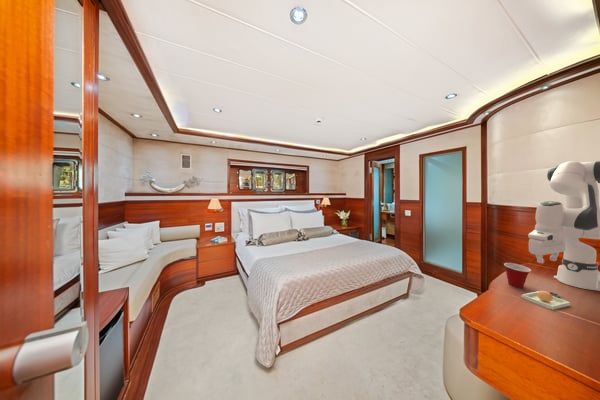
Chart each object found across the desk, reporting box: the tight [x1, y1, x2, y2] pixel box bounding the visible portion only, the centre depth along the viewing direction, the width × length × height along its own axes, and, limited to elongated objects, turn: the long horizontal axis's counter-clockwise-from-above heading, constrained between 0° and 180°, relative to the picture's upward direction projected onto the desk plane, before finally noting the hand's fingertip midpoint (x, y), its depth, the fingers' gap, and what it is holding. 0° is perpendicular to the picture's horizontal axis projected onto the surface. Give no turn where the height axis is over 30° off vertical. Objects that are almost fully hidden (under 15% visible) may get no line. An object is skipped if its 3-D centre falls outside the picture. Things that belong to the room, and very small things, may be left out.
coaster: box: [548, 291, 566, 300], centre depth 106 cm, size 7×7×1 cm
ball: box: [537, 290, 553, 302], centre depth 100 cm, size 5×5×5 cm
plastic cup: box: [503, 262, 532, 289], centre depth 116 cm, size 11×11×12 cm
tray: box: [520, 290, 571, 311], centre depth 100 cm, size 13×11×2 cm
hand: (546, 261), depth 99 cm, fingers open, 8 cm apart
